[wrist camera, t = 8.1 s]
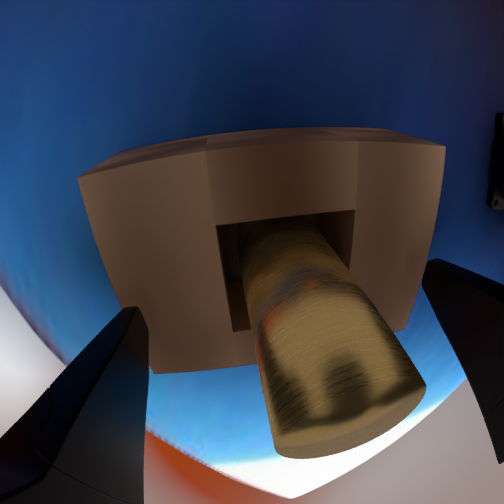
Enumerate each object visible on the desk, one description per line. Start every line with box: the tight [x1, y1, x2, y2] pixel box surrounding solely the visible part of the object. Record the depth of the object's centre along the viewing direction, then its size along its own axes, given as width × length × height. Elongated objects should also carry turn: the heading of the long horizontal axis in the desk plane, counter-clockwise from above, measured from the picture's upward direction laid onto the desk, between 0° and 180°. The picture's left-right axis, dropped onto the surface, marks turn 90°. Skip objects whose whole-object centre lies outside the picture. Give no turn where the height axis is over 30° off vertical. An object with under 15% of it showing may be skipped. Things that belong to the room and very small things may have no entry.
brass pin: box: [235, 215, 426, 459], centre depth 8 cm, size 3×3×8 cm
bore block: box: [78, 127, 446, 374], centre depth 10 cm, size 11×8×4 cm
